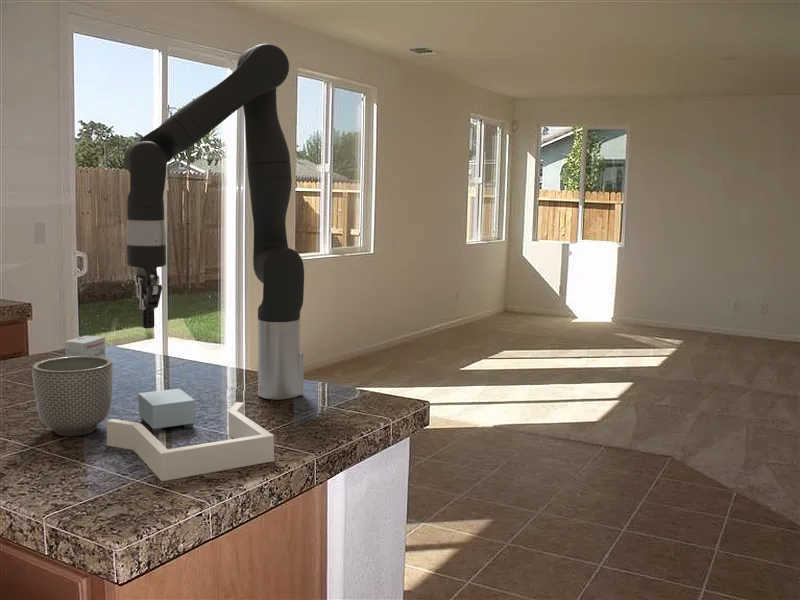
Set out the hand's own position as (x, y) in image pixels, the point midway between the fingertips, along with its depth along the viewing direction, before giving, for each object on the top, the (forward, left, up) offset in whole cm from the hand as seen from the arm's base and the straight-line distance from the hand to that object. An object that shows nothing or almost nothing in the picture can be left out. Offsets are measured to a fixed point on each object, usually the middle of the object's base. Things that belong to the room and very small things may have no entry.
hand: (148, 327), depth 162 cm
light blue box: (0, +12, -17) cm, 21 cm away
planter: (+16, +8, -17) cm, 25 cm away
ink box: (+8, -22, -17) cm, 29 cm away
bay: (0, +30, -17) cm, 35 cm away
